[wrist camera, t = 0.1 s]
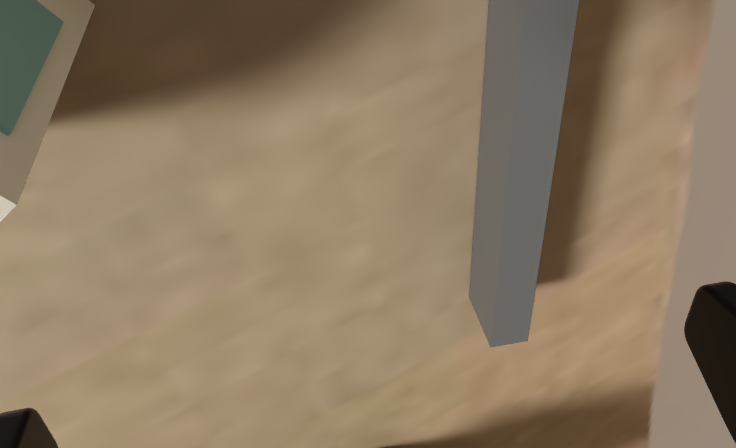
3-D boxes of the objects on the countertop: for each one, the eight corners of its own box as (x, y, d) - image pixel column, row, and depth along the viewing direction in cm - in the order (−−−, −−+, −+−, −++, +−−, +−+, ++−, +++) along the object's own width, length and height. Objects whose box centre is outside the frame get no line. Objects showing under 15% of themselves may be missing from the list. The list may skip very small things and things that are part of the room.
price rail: (511, 290, 30) (535, 339, 28) (469, 296, 30) (490, 347, 28) (589, -359, 16) (650, -369, 14) (513, -355, 16) (562, -364, 14)
